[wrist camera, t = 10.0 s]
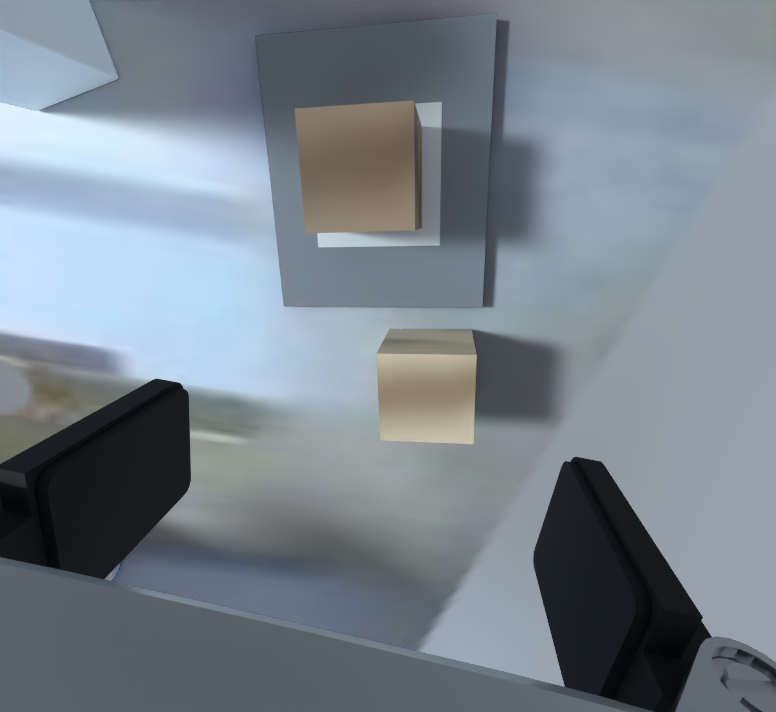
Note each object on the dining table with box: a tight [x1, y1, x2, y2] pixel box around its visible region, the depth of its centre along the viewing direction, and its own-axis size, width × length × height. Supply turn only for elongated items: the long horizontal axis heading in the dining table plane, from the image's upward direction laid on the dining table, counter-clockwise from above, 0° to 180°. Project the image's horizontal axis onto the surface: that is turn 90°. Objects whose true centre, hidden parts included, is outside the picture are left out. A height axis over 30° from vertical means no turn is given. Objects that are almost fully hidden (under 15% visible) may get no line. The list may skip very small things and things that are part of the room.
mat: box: [255, 13, 497, 307], centre depth 23 cm, size 14×12×1 cm
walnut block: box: [295, 100, 422, 233], centre depth 20 cm, size 5×5×5 cm
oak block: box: [377, 329, 477, 444], centre depth 24 cm, size 5×5×5 cm
